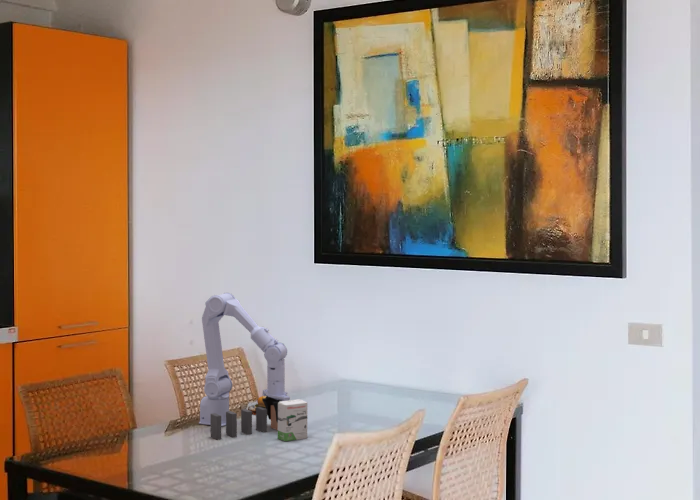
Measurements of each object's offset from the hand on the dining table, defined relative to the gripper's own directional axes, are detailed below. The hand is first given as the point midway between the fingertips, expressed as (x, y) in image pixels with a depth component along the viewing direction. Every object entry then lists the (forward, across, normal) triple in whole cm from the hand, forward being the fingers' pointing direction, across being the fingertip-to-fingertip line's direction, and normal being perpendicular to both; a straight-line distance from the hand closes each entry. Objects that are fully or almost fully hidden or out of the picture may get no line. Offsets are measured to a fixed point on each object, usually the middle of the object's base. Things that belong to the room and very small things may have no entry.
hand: (276, 420), depth 311 cm
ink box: (+3, -14, +2) cm, 14 cm away
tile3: (+3, 0, +11) cm, 11 cm away
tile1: (+3, 0, 0) cm, 3 cm away
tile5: (+3, 0, +22) cm, 22 cm away
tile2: (+3, 0, +6) cm, 6 cm away
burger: (+3, +24, -9) cm, 25 cm away
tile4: (+3, 0, +16) cm, 17 cm away
